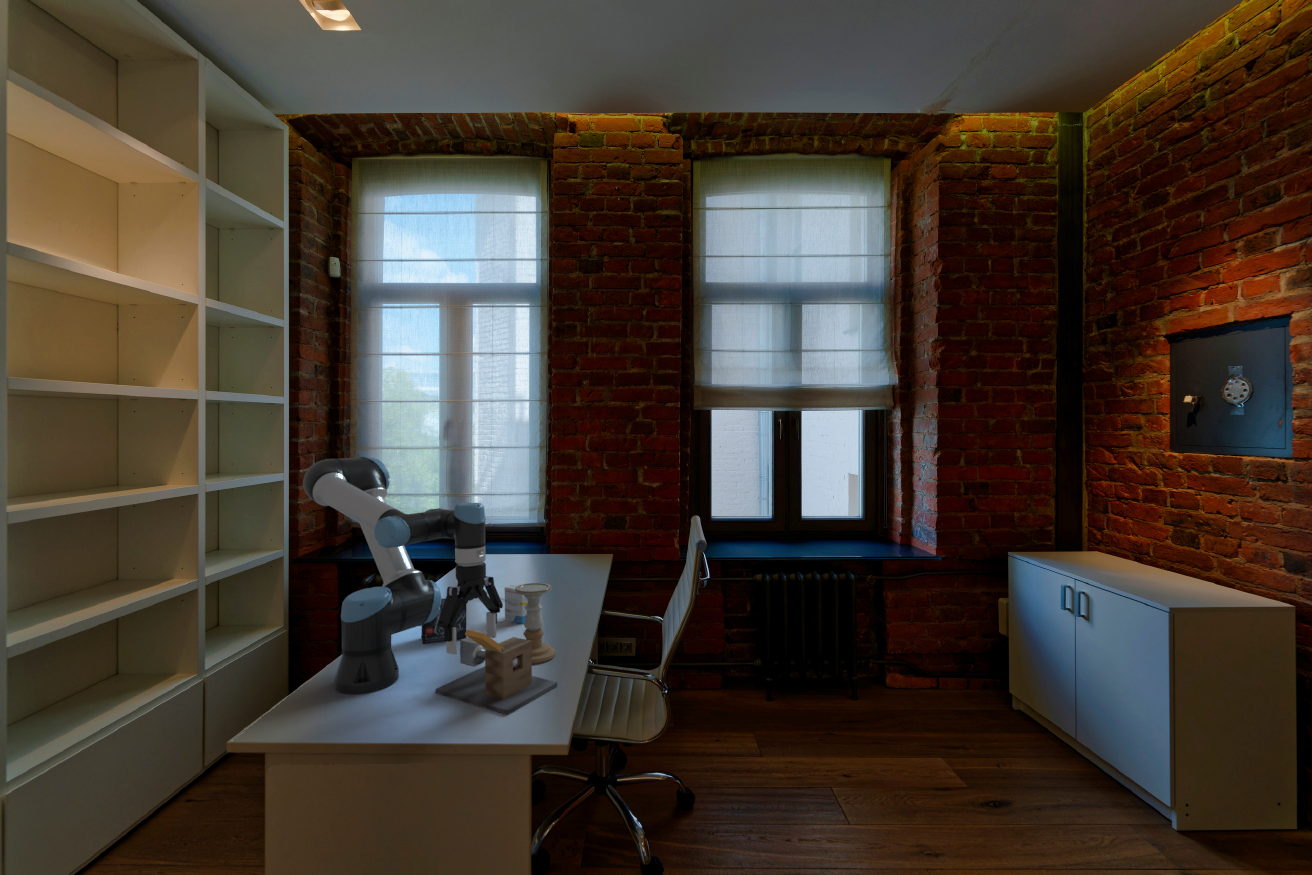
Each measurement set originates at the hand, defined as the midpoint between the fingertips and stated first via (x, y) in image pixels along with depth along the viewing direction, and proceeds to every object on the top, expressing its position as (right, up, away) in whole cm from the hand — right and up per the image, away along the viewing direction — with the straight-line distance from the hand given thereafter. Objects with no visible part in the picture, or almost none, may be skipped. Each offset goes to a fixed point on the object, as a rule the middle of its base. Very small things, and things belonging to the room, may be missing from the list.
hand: (472, 644), depth 158 cm
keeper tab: (+7, +5, -14) cm, 16 cm away
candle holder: (+12, -10, +18) cm, 24 cm away
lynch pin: (+5, -5, -3) cm, 8 cm away
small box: (-19, -10, +34) cm, 40 cm away
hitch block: (+8, -10, -4) cm, 13 cm away
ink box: (+1, -9, +54) cm, 54 cm away
